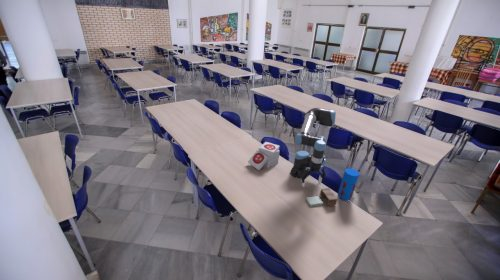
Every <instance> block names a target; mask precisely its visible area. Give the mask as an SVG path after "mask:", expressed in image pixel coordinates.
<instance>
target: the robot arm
mask: <svg viewBox="0 0 500 280" xmlns="http://www.w3.org/2000/svg"><path fill="white" fill-rule="evenodd" d="M336 116H337V115H336V111H335V110H332V109H327V108H321V107H313V108H311V109H309V110H307V112H306V113H305V115H304V121H303V124H302V127H301V128H300V129H301V130H300V133H296V135H295V137H294V138H295V139H294V142H295V143H296V144H298V145H302V146H308V147H312V148H313V151H312V153H311V154H310V153H309V151H306V150H298V151H296V153H295V156H294V162H293V166H292V167H291V169H290V173H289V174H290V176H292V177H293V178H295V179H298V180H299V179H300V180H301V186H302V188H305V187H306V186H305V185H306V181H307V180H306V179H307V178H308V177H309V176H310V175H312V174H313V173H318V175H319V177H318V181H317V184H318V185H322V181H323V179H325V177H327V175H326V170H325V164H326V161H327V158H326V155H325V152H326V149H327V143H328V142H327V141H328V138H329V134H330V130H331V128H332V127H333V125H334V126H335V123H336ZM315 122H317V123H318V126H319V127H318V131H317V136H313V135H311V133H312V131H313V127H314V123H315Z"/></svg>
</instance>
